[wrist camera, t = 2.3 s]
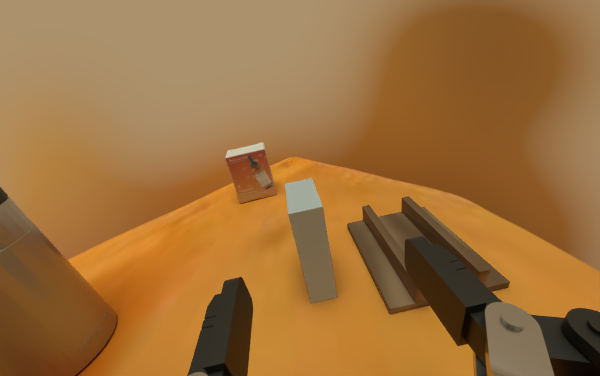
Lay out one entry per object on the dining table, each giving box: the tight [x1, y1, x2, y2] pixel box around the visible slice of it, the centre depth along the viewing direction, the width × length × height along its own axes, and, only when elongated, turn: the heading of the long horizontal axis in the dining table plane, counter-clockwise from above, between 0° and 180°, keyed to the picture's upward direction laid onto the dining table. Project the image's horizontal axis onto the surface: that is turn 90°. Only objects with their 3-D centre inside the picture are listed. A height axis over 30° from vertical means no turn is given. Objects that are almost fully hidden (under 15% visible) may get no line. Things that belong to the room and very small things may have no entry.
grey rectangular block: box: [285, 178, 337, 303], centre depth 25 cm, size 3×6×12 cm, turn 6°
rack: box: [347, 196, 510, 314], centre depth 28 cm, size 12×14×3 cm
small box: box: [225, 142, 276, 203], centre depth 48 cm, size 8×6×10 cm
